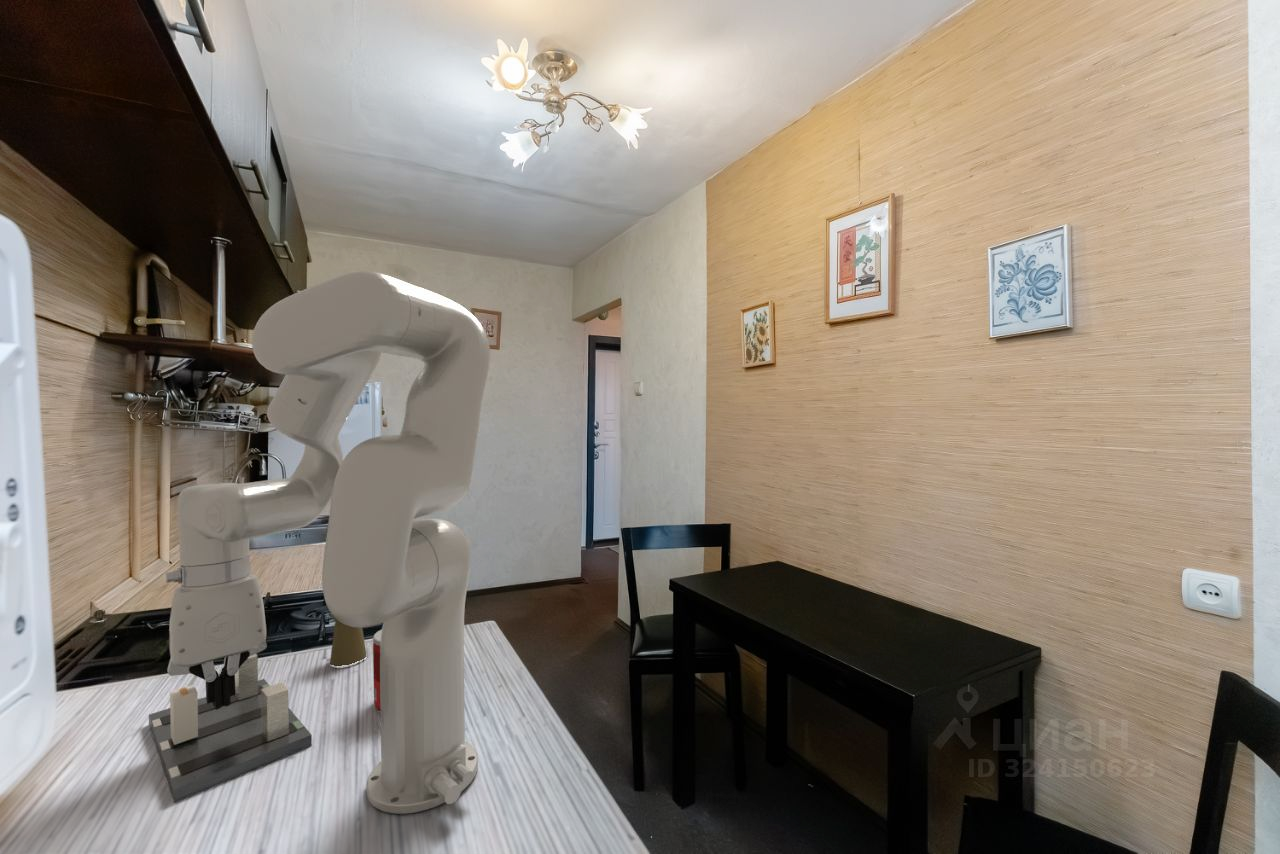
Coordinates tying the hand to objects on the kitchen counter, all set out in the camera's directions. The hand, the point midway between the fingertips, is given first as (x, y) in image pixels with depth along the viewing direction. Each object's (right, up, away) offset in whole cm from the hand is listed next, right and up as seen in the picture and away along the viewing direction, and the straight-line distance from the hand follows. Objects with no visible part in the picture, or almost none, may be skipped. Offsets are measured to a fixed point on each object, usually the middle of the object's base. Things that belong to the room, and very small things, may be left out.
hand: (221, 704), depth 72 cm
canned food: (+21, -5, +9) cm, 23 cm away
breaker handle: (-3, -3, -2) cm, 5 cm away
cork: (+4, -5, +24) cm, 25 cm away
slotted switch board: (0, -5, +1) cm, 5 cm away
